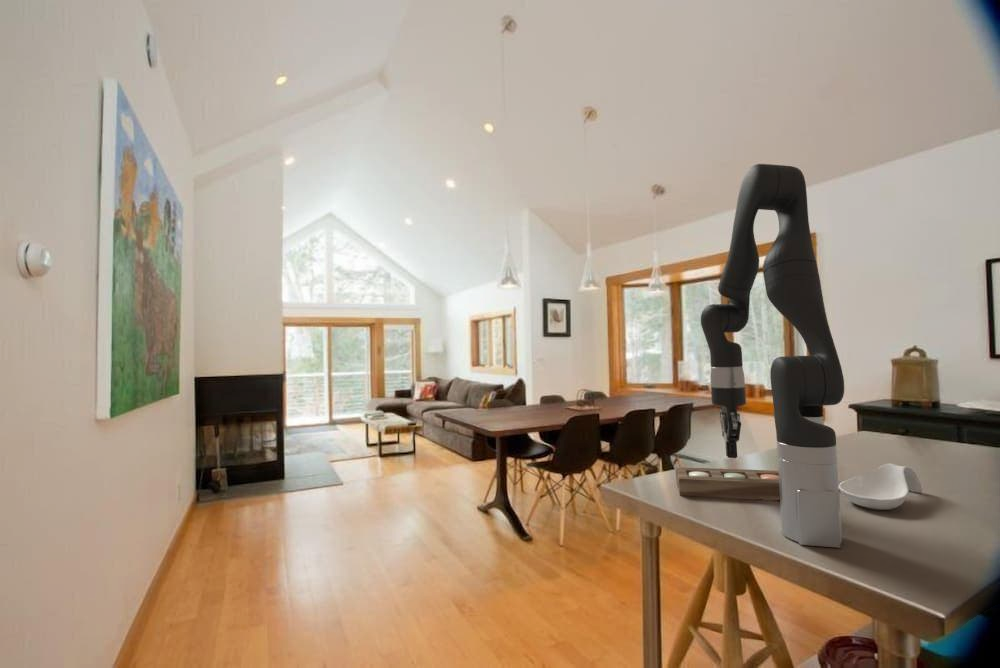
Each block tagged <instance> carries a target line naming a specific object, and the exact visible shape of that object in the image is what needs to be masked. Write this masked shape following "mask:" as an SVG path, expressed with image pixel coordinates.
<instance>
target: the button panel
mask: <svg viewBox="0 0 1000 668" xmlns="http://www.w3.org/2000/svg"><path fill="white" fill-rule="evenodd" d="M690 472H705V473H708V474H709V477H698V476H689V473H690ZM725 473H738V474H743V475H745V478H724V474H725ZM764 474H772V475H778V476H779V473H778V470H768V469H767V470H766V469H741V468H739V469H738V468H735V469H734V468H712V467H710V468H708V467H686V466H685V467H680V466H676V467H675V480H676V481H675V482H676V485H677V486H676V487H677V490H678V494H679V496H680V497H681V496H682V497H700V498H701V497H702V498H717V499H719V498H720V499H737V500H738V499H740V500H754V499H763V500H762V501H773V500H780V491H779V480H772V479H761V477H760V476H761V475H764Z"/></svg>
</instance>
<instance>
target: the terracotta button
mask: <svg viewBox="0 0 1000 668" xmlns="http://www.w3.org/2000/svg"><path fill="white" fill-rule="evenodd" d="M760 477H761V479H772V480H779V476H778V475H772V474H764V475H761V476H760Z"/></svg>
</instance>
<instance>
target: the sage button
mask: <svg viewBox="0 0 1000 668" xmlns="http://www.w3.org/2000/svg"><path fill="white" fill-rule="evenodd" d="M724 478H745V475H743V474H738V473H725V474H724Z"/></svg>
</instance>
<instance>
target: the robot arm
mask: <svg viewBox="0 0 1000 668" xmlns="http://www.w3.org/2000/svg"><path fill="white" fill-rule="evenodd" d="M738 192H739V193H738V197H737V203H736V209H735V215H734V221H733V226H732V227H733V228H732V234H731V240H730V244H729V245H730V246H729V250H728V255H727V257H726V262H725V266H724V268H723V271H722V274H721V278H720V281H719V283H718V287H717V291H718V293H719V295H721V296H722V297H724V298H727V299H729V302H728V304H727V303H726V304H725V303H722V304H720V303H719V304H718V303H716V304H715V303H714V304H708V305H707V306H705V307H704V308H703V310H702V312H701V315H700V326H701V329H702V331H703V334H704V336H705V337H704V338H705V340H706V343H707V346H708V349H709V356H710V357H709V358H710V376H709V378H710V393H711V404H712V405H713V406H718V407H721V411H720V412H718V413H719V415H718V416H719V423H720V428H721V433H722V434H721V435H722V437H723V440H724V442H725V443H724V444H725V455H726V457H727V458H729V459H737V458H738V448H737V447H738V445H737V443H738V442H739V440H740V435H741V434H740V433H741V427H742V422H741V415H740V413H738V407H743V406H745V405H746V404H747V399H746V398H747V397H746V396H747V395H746V381H745V373H744V367H743V352H742V346H741V345H740V344H739V343H738V342H733V341H730V340H728V339H727V336H726V334H725V333H727V334H728V333H730V334H731V333H738V332H741V331H742V330H743V329H744V328H745V327H746V326H747V324H748V322H749V316H750V301H751V290H752V289H753V286H754V284H755V280H756V277H757V274H758V272H759V268H760V267H759V266H760V256H759V251H758V247H757V244H756V238H755V233H754V225H755V219H756V217H757V214H758V212H759V210H760V211H761V210H763V211H774V212H775V213H776V215H777V218H778V229H779V230H778V234H777V236H776V238H775V240H774V241H773V243H772V245H771V247H770V249H769V250H768V252H767V253H766V256H765V258H764V261H763V264H762V265H763V266H762V273H763V279H764V287H765V292H766V293H765V294H766V296H767V298H768V300H769V302H771V304H772V306H773V307H774V308H775V309H776V310H777V311H778V312H779V313H780V315H782V316H783V317H784V318H785V320H787V321H788V322H789V323H790V324H791V325H792V326H793V327H794V328H795V329H796V331H797V332H798V333H799V335H800V336H801V338H802V339H803V341H804V344H805V345H806V348H807V351H808V354H809V355H786V356H779V357H776V358H775V359H774V360H773V361H772V363H771V367H770V370H769V371H770V372H769V373H770V374H769V375H770V386H771V396H772V404H773V414H774V425H775V433H776V450H777V468H778V470H777V471H778V473H779V491H780V501H779V507H780V518H781V519H780V521H781V534H783V536H785V537H786V538H788V539H789V540H792V541H794V542H796V543H798V544H799V545H801V546H813V547H815V546H816V547H827V548H838V549H839V548H841V544H842V542H843V536H842V535H843V534H842V533H843V532H842V518H841V504H840V503H841V502H840V500H841V499H840V490H839V484H840V483H839V473H838V472H839V470H838V453H837V452H838V451H837V435H836V431H835V430H834V429H833V427H830V426H828V425H825V424H824V425H823V424H819V423H816V422H813V421H810V420H808V419H806V418H804V417H803V416H801V414H800V412H799V408H798V406H817V405H818V406H835V405H838V404H840V403H841V402H842V400H843V398H844V395H845V379H844V378H845V377H844V374H843V368H842V365H841V363H840V359H839V355H838V352H837V348H836V345H835V342H834V339H833V335H832V333H831V328H830V325H829V321H828V317H827V313H826V308H825V302H824V298H823V297H824V296H823V291H822V283H821V278H820V273H819V269H818V267H819V266H818V264H817V259H816V256H815V252H814V247H813V239H812V235H811V228H810V222H809V208H808V207H809V206H808V196H807V193H808V192H807V184H806V179H805V175H804V174H803V172H802V171H801V169H800V168H798V167H795V166H793V165H792V166H791V165H783V164H782V165H781V164H770V163H769V164H768V163H757V164H754V165H753V166H751V167H750V168H749V169H748V170H747V171H746V173H745V174H744V176H743V178H742V181H741V185H740V188H739V191H738Z"/></svg>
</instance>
